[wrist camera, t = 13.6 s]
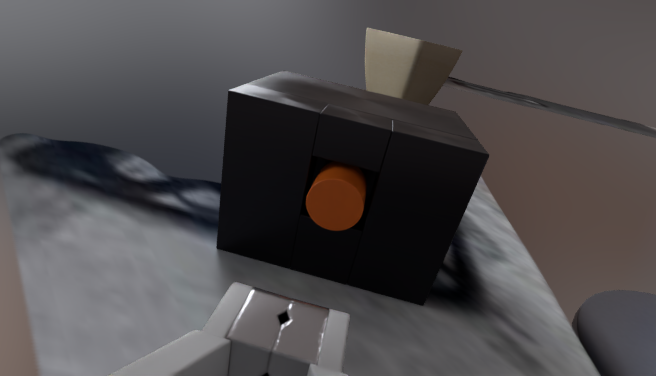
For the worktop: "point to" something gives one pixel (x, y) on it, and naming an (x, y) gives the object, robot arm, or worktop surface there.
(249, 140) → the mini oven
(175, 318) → the worktop surface
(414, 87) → the flower pot
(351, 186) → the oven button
